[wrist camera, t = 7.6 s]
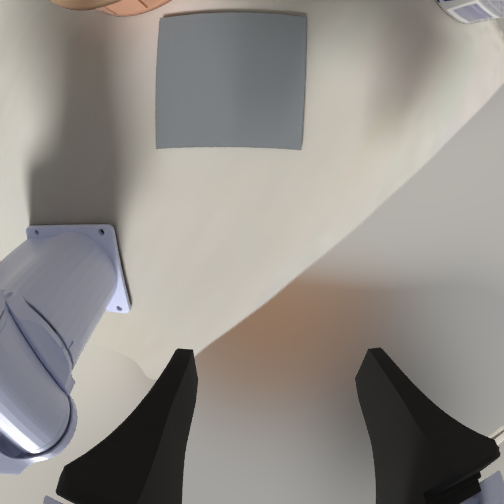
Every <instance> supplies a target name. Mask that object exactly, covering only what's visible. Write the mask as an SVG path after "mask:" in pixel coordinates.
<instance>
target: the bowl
mask: <svg viewBox="0 0 504 504" xmlns="http://www.w3.org/2000/svg"><path fill="white" fill-rule="evenodd" d="M169 1H171V0H122V1H119V2H117V3H114V4H111V5H108V6H105V7H101V8H97V9H96V10H99V11H103V12H105V13H107V14H110V15H114V16H133V15H139V14H142V13H146V12H149V11H152V10H154V9H156V8H159V7H161V6H162V5H164V4H166V3H168V2H169Z"/></svg>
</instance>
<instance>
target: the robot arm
mask: <svg viewBox="0 0 504 504" xmlns="http://www.w3.org/2000/svg"><path fill="white" fill-rule="evenodd" d="M101 229H102V230H103V231H104V233H102V232H101ZM38 232H39V233H38ZM26 234H27V238H28V239H27V240H26V241H25V242H23V243H22V244H21V245H20V246H18V247H17V248H16V249H15V250H13V251H12V252H11V253H10V254H9V255H7V256H6V257H5V258H4V259H3V260H2V261H0V474H21V472H23V471H24V470H25V469H26V468H27V467H28V466H30V465H31V464H33V463H35V462H38V461H42V460H47V459H50V458H53V457H55V456H56V455H58V454H59V453H61V452H62V451H63V450H64V449H65V448H66V446H67V445H68V444H69V443H70V441H71V439H72V437H73V435H74V432H75V430H76V425H77V410H76V406H75V403H74V401H73V399H72V397H71V396H70V393H71V390H72V388H73V386H74V384H75V381H74V379H73V378H72V375H71V372H72V370H73V368H74V366H75V364H76V362H77V360H78V358H79V356H80V354H81V352H82V351H83V349H84V347H85V345H86V343H87V341H88V340H89V338H90V336H91V334H92V333H93V331H94V329H95V327H96V325H97V324H98V322H99V320H100V319H101V317H102V315H103V313H104V312H105V311H110V312H119V313H129V312H130V310H131V305H130V301H129V297H128V293H127V289H126V285H125V281H124V276H123V272H122V267H121V262H120V257H119V252H118V247H117V241H116V235H115V230H114V228H113V226H112V225H110V224H78V225H37V226H29V227H27V229H26ZM119 306H120V307H121V308H120V307H119ZM355 380H356V387H357V393H358V398H359V402H360V405H361V409H362V412H363V416H364V419H365V422H366V425H367V429H368V433H369V436H370V440H371V445H372V450H373V457H374V466H375V477H376V504H504V482H503V478H502V475H501V473H500V471H497V472H496V473H494V474H493V475H491V476H490V477H488V478H486V479H485V480H483V481H482V482H480V483H479V481H478V479H479V478H480V477H481V474H480V471H481V470H483V469H484V468H485V467H487V466H488V465H490V464H491V463H492V462H493V461H495V460H496V459H497V458H498V457H500V452H499V449H498V447H497V444H496V442H495V440H493V439H491V438H488V437H486V436H484V435H481V434H479V433H477V432H475V431H473V430H471V429H469V428H468V427H466V426H464V425H462V424H461V423H459V422H458V421H456V420H455V419H453V418H452V417H450V416H449V415H448V414H446V413H445V412H444V411H443V410H441V409H440V408H439V407H438V406H436V405H435V404H434V403H433V402H432V401H431V400H430V399H428V398H427V397H426V396H425V395H424V394H423V393H422V392H421V391H420V390H419V389H418V388H417V387H416V386H415V385H414V384H413V383H412V382H411V381H410V380H409V379H408V377H407V376H406V375H405V374H404V373H403V372H402V371H401V370H400V369H399V367H398V366H397V365H396V364H395V363H394V362H393V361H392V360H391V358H390V357H389V356H388V355H387V354H386V353H385V352H384V351H383V349H381V348H372V349H368V351H367V353H366V356H365V358H364V360H363V362H362V365H361V367H360V369H359V371H358V373H357V375H356V378H355ZM197 385H198V377H197V372H196V366H195V359H194V353H193V350H190V349H177V350H176V351H175V353H174V354H173V356H172V358H171V360H170V361H169V363H168V365H167V366H166V368H165V369H164V371H163V372H162V374H161V376H160V377H159V378H158V380H157V381H156V383H155V384H154V386H153V387H152V388H151V390H150V391H149V393H148V394H147V395H146V396H145V397H144V399H143V400H142V401H141V403H140V404H139V405H138V406H137V407H136V409H135V410H134V411H133V412H132V413H131V414H130V415H129V416H128V417H127V418H126V420H125V421H124V422H123V423H122V424H121V425H119V426H118V427H117V428H116V429H115V430H114V431H113V432H112V433H111V434H110V435H109V436H108V437H106V438H105V439H104V440H103V441H101V442H100V443H99V444H97V445H96V446H95V447H94V448H92V449H91V450H90V451H88V452H87V453H85V454H84V455H82V456H81V457H79V458H77V459H76V460H74V461H72V462H71V463H69V464H67V465H66V466H65V467H64V469H63V471H62V473H61V475H60V478H59V482H58V485H57V489H56V493H57V495H59V496H61V497H63V498H64V499H66V500H68V501H70V502H72V503H75V504H182V486H183V485H182V484H183V469H184V459H185V451H186V444H187V440H188V435H189V431H190V426H191V422H192V417H193V412H194V408H195V403H196V394H197ZM43 504H62V503H61V502H58V501H57V500H54V499H53V498H51V497H49V496H45V498H44V502H43Z"/></svg>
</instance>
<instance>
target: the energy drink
mask: <svg viewBox="0 0 504 504" xmlns="http://www.w3.org/2000/svg"><path fill="white" fill-rule="evenodd" d="M435 1H436V2H437V4H438V5H439V6H440V7H441V8H442V9H443V10H444V11H445V12H446V13H447V14H448V15H449V16H451V17H452V18H454V19H455V20H457V21H459V22H461V23H464V24H472V23H477V22H482V21H488V20H494V19H500V18H504V0H435Z"/></svg>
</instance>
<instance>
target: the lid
mask: <svg viewBox="0 0 504 504" xmlns="http://www.w3.org/2000/svg"><path fill="white" fill-rule="evenodd" d="M50 1H51V2H53V3H55V4H57V5H59V6H62V7H64V8H68V9H71V10H91V9H97V8H101V7H105V6H108V5H111V4H114V3H117V2H119V1H122V0H50Z"/></svg>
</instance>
